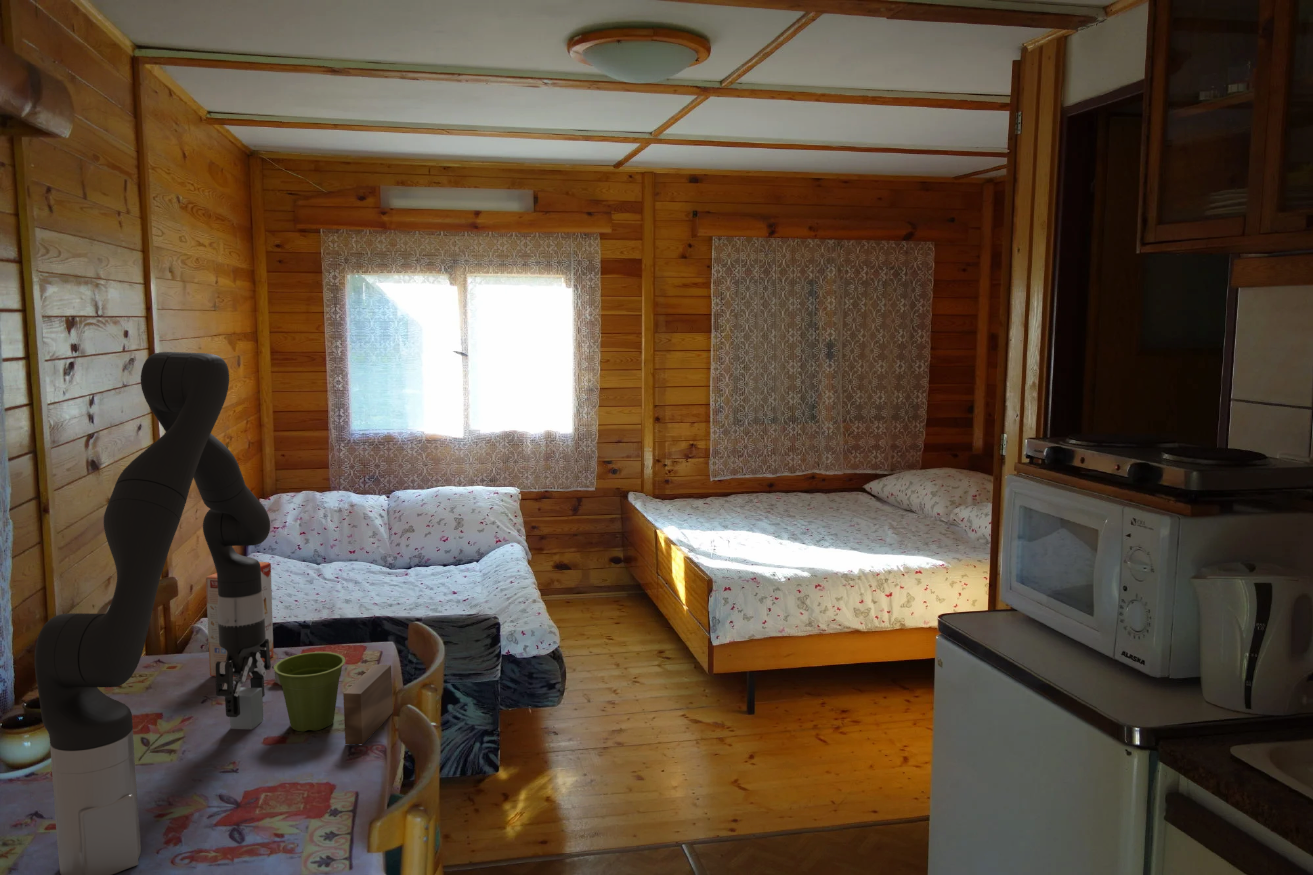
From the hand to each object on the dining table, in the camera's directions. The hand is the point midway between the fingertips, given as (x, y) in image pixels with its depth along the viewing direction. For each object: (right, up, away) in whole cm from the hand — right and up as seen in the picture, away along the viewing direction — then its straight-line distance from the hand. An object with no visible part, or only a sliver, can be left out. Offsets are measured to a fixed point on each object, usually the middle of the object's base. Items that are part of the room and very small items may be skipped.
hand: (246, 706), depth 168 cm
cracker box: (-13, 0, +30) cm, 33 cm away
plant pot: (+12, -3, 0) cm, 12 cm away
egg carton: (+2, -1, +23) cm, 23 cm away
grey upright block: (0, -3, 0) cm, 3 cm away
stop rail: (+22, -3, -2) cm, 23 cm away
